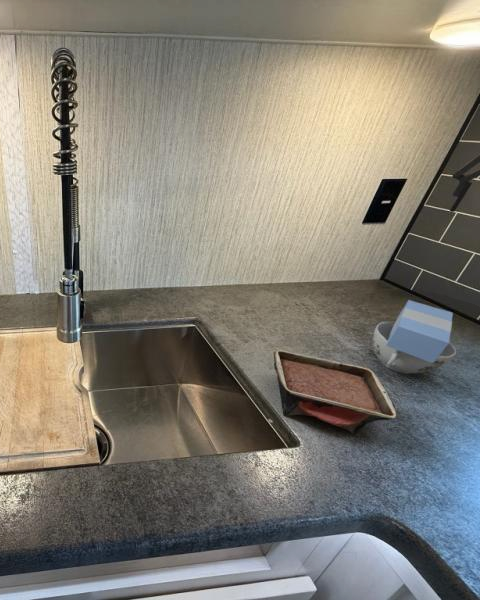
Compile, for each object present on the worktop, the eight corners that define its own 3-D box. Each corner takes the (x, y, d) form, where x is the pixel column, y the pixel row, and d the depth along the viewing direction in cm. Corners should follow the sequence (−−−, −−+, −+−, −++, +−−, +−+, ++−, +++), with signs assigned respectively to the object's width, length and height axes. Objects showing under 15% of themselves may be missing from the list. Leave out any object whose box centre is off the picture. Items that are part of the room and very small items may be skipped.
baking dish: (369, 458, 53) (411, 421, 48) (260, 411, 58) (288, 372, 53) (345, 402, 65) (377, 367, 60) (256, 367, 70) (278, 332, 65)
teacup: (375, 341, 78) (392, 314, 74) (442, 372, 69) (466, 344, 64) (344, 361, 72) (361, 333, 67) (414, 398, 62) (438, 369, 58)
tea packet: (396, 318, 73) (408, 299, 70) (438, 332, 68) (453, 312, 65) (385, 345, 64) (398, 325, 61) (433, 363, 59) (449, 342, 57)
